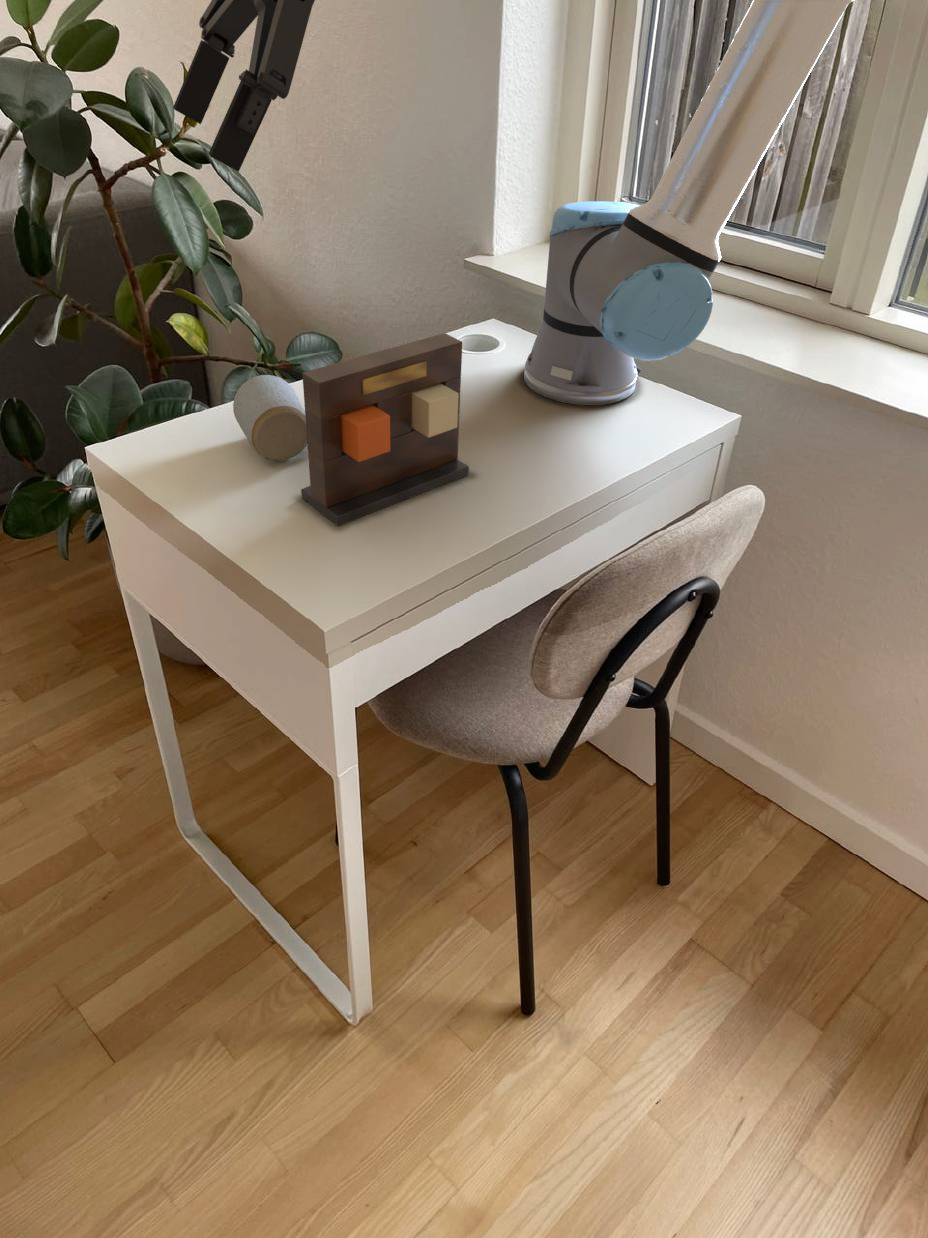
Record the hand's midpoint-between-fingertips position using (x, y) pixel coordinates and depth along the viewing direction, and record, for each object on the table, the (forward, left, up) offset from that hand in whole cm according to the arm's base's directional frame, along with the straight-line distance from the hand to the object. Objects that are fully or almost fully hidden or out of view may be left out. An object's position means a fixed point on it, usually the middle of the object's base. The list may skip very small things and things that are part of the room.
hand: (204, 138), depth 85 cm
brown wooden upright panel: (-10, +13, -34) cm, 38 cm away
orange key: (-6, +16, -27) cm, 32 cm away
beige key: (-15, +16, -27) cm, 34 cm away
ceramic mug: (-6, -1, -34) cm, 35 cm away
